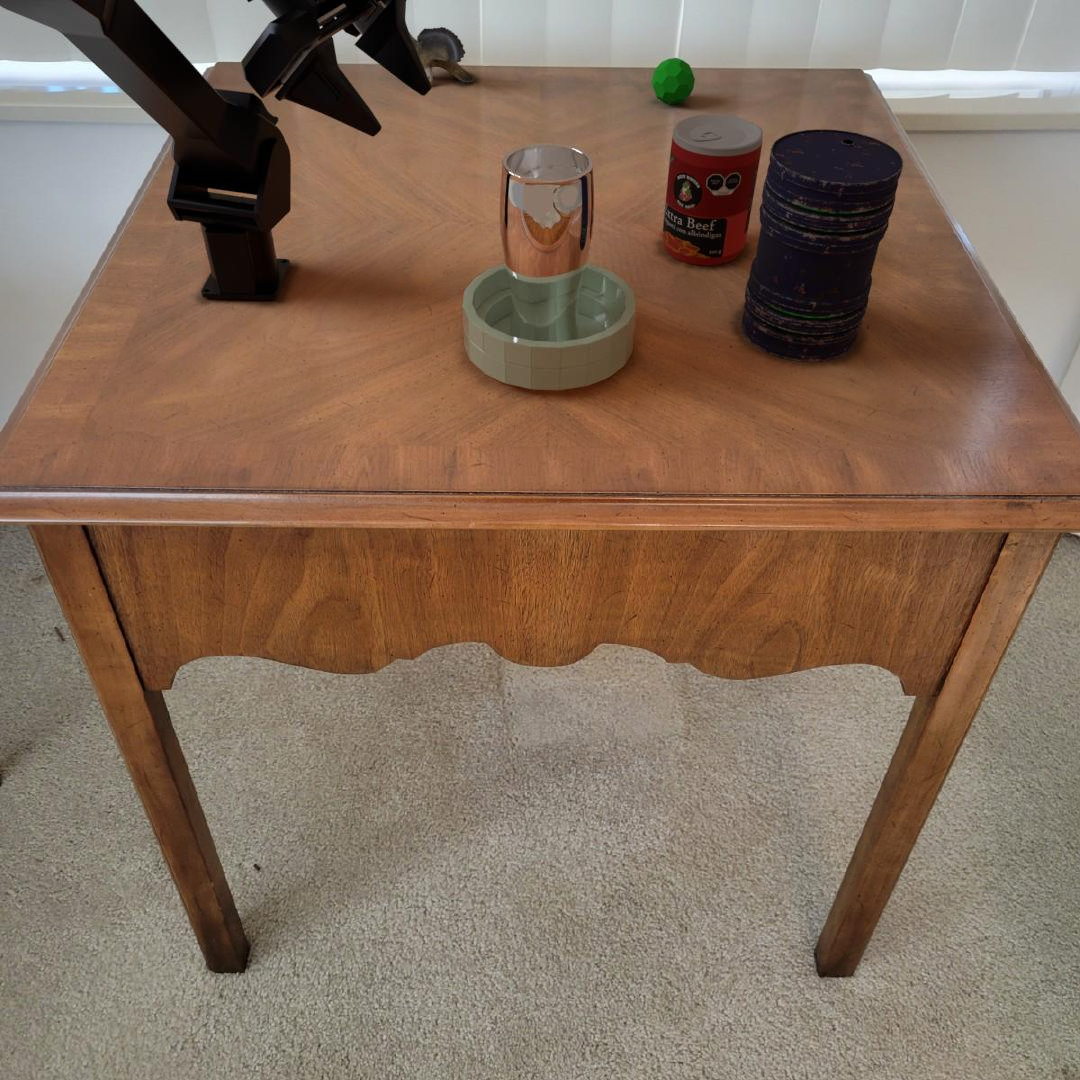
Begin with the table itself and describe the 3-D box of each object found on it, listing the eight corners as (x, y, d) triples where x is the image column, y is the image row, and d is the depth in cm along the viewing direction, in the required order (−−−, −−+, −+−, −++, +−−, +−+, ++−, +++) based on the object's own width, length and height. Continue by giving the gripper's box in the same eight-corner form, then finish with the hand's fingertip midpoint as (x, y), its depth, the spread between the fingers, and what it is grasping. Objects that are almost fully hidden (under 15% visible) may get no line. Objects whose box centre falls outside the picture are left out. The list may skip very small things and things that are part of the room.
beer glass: (516, 372, 80) (516, 188, 69) (491, 326, 84) (486, 147, 74) (599, 357, 81) (611, 175, 71) (569, 313, 86) (576, 136, 76)
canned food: (644, 247, 96) (655, 130, 88) (695, 219, 100) (709, 105, 92) (710, 276, 92) (727, 157, 84) (760, 246, 96) (781, 129, 89)
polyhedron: (695, 109, 120) (699, 67, 117) (653, 110, 120) (657, 68, 117) (687, 94, 124) (692, 52, 121) (647, 94, 124) (651, 53, 120)
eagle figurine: (393, 84, 122) (466, 71, 121) (385, 20, 121) (458, 7, 119) (410, 99, 129) (479, 87, 128) (402, 39, 128) (471, 27, 127)
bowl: (633, 399, 78) (638, 349, 75) (457, 393, 79) (454, 343, 75) (629, 306, 88) (633, 259, 85) (472, 301, 88) (470, 254, 85)
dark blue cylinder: (837, 375, 81) (883, 196, 71) (722, 341, 84) (750, 165, 74) (872, 318, 87) (920, 145, 77) (764, 288, 91) (795, 119, 80)
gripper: (247, -106, 67) (410, 90, 72) (378, -158, 80) (510, 12, 85) (175, 8, 75) (327, 179, 80) (305, -56, 87) (430, 95, 92)
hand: (403, 111), depth 84 cm, fingers open, 9 cm apart
